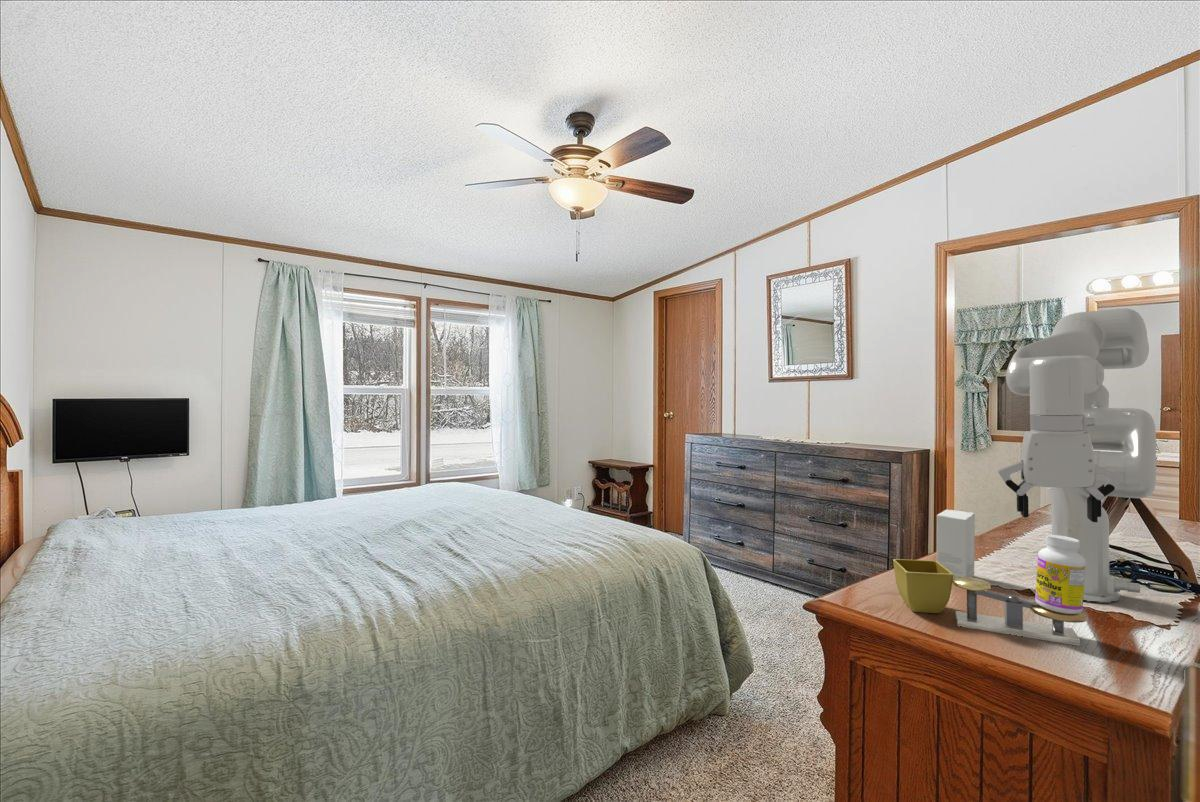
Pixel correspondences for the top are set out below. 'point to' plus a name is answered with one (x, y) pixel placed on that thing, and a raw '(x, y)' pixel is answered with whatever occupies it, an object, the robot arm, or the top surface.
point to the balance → (1014, 615)
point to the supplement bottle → (1060, 575)
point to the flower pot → (923, 584)
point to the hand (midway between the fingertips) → (1057, 518)
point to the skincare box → (956, 542)
